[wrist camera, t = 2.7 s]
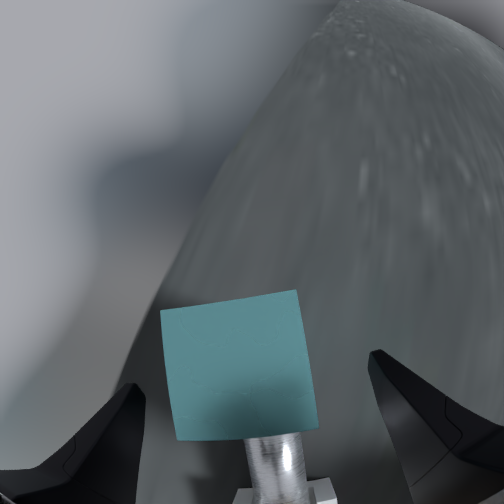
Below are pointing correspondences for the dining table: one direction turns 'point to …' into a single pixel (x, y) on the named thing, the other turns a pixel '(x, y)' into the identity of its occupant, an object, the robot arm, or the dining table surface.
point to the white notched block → (319, 491)
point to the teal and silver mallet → (245, 385)
